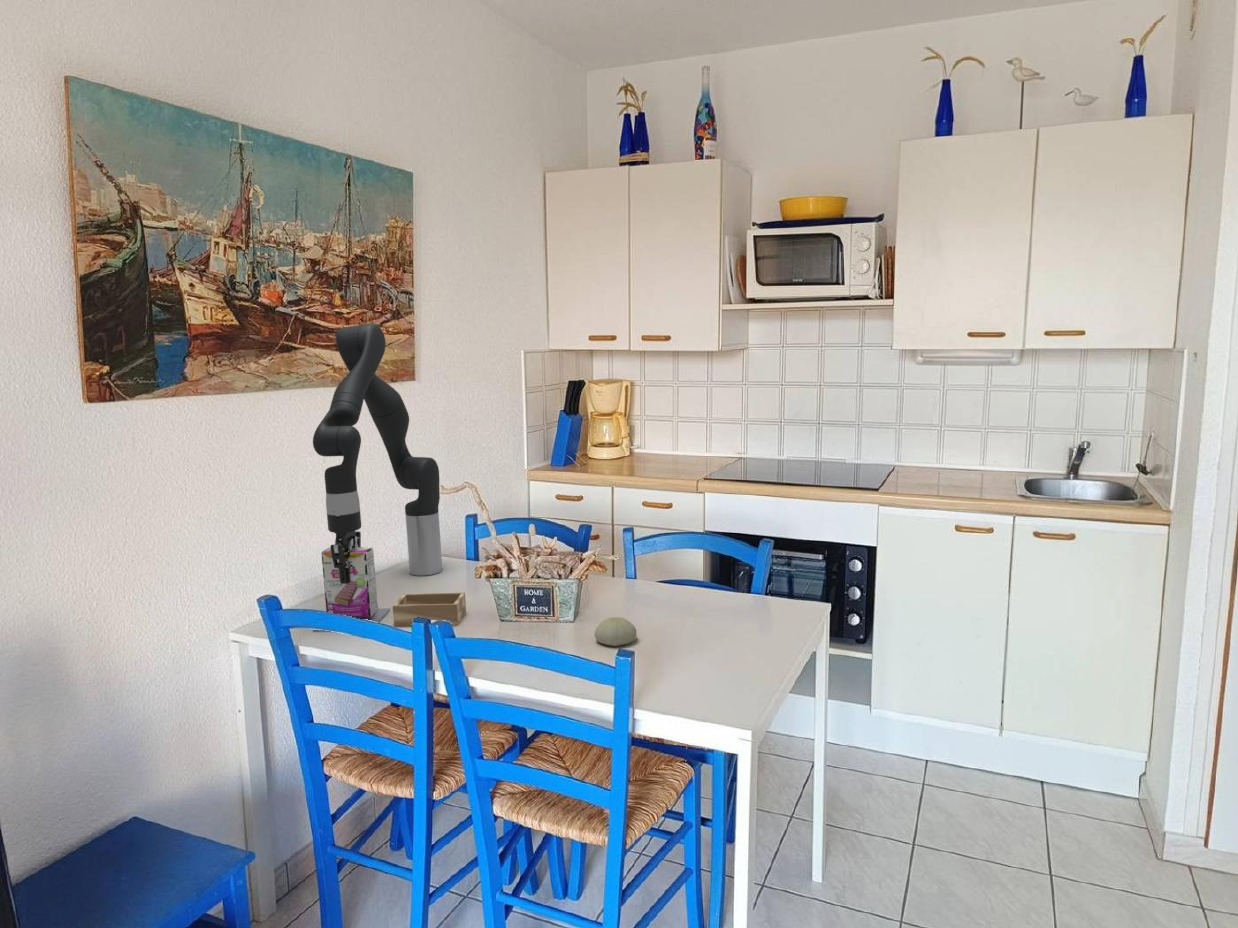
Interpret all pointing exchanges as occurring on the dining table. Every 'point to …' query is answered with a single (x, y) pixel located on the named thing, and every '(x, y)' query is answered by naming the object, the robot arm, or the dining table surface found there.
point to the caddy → (429, 607)
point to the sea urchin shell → (615, 631)
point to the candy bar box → (351, 584)
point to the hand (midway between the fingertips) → (349, 579)
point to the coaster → (377, 615)
